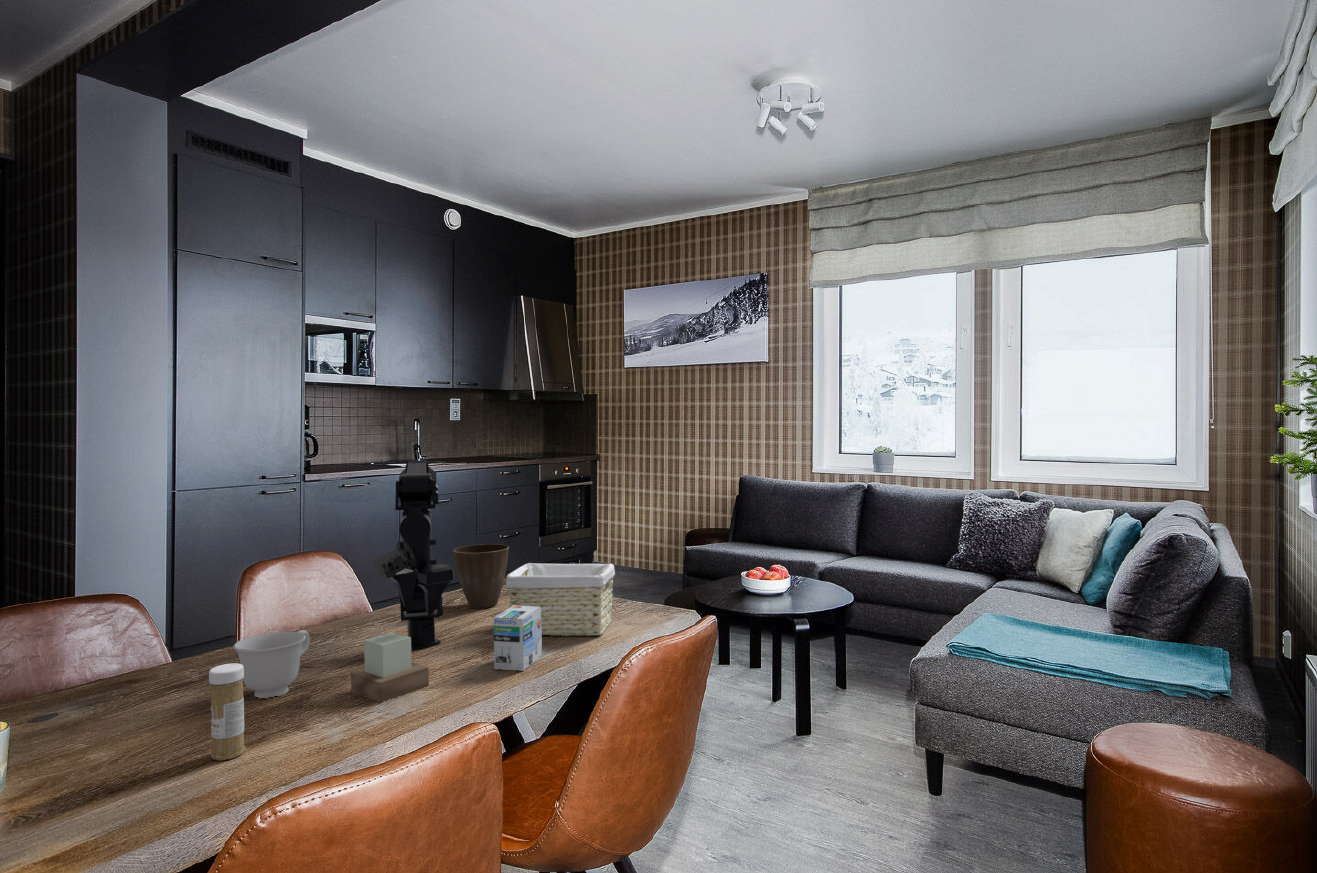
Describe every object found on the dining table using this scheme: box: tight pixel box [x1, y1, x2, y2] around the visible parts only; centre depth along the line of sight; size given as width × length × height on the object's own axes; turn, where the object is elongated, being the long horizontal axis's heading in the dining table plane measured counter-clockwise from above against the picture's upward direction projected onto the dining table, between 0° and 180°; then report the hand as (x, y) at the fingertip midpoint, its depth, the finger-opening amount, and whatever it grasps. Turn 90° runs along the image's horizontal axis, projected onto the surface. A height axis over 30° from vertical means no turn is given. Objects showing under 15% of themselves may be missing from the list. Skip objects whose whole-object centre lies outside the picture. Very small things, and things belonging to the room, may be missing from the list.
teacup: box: [232, 629, 311, 699], centre depth 138 cm, size 12×15×10 cm
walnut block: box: [350, 662, 430, 703], centre depth 138 cm, size 10×10×4 cm
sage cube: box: [363, 632, 413, 678], centre depth 138 cm, size 6×6×6 cm
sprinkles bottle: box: [208, 662, 246, 761], centre depth 111 cm, size 5×5×14 cm
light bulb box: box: [492, 605, 543, 672], centre depth 152 cm, size 11×7×11 cm, turn 168°
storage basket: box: [505, 562, 616, 637], centre depth 177 cm, size 24×16×15 cm
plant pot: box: [452, 543, 510, 609], centre depth 201 cm, size 15×15×16 cm
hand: (418, 610), depth 150 cm, fingers open, 9 cm apart
